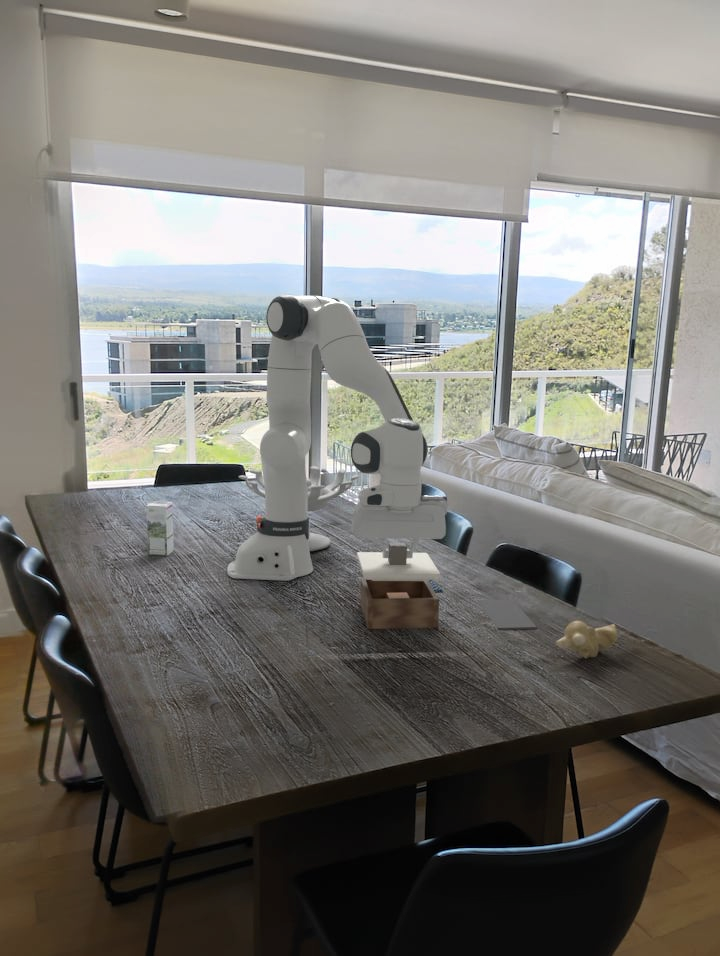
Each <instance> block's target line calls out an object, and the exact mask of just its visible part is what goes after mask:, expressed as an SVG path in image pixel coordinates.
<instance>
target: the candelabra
mask: <svg viewBox="0 0 720 956" xmlns="http://www.w3.org/2000/svg"><path fill="white" fill-rule="evenodd" d="M309 469H310V474H309V478H308V477H306V482H307V487H308V513H309V512H314V511H320V510H322V509H324V508H325V507H326V505H327V503H328V502H329V501H331V500H333V499H335V498H337V497H339V496H340V495H343V493H346V492H347V491H348V490H350V489H351V487H352V486H353V485H354V481H355V480H357V479H359V478H360V475H359V474H356V475H355V474H354V475H351V476H350V480H349V481H348V480H347V481H344V478H345V477H344V475H345V474H346V469H338V471H337V475H336V478H335V479H334V480H333V481H332V482H331V483H329V484H328V485H326V486H325V485H321V484H320V485H319V484H318V483H319V481H320V479H321V470H320V468H319V467H317V466H315V465H312V466H310V467H309ZM248 471H249V473H250V474H253V475H255V479H256V481H257V482H256V481H249V477H248V476H247V475H238V479H241V480H245V485H246V486H247V488H248V489H250V490H251V491H252V492H253V493H255V494H256V495H258V496H259V497H262V498H264V499H265V485H264V478H263V471H261V470H259V469H250V470H248ZM258 484H259V485H260V486H261V487H262V488H263V489H264V490H263V489H260V488H259V487H258ZM338 487H339V488H338ZM336 488H338V489H336ZM308 543H309V551H310V552H315V551H320V550H323V549H326V548H328V547H329V546H330V545H331V544H332V542H331V539H330V538H329V537H327V536H325V535H322V534H319V533H313V532H310V536H309V539H308Z"/></svg>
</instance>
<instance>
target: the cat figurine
mask: <svg viewBox="0 0 720 956" xmlns="http://www.w3.org/2000/svg"><path fill="white" fill-rule="evenodd" d="M563 633H564V634H563V635H564V636H563V637H562V638H561V637H560V638H559V639H558V640H556V642H555V644H556V646H557V647H559V648H561V649H571V650H572V651H573V652H575V653H577V654H579V655H581V656H582V657H583V658H584V659H588V658H596V657H597V656H598V654H599V652H600V651H605V650H608V649H610V647H611V646H612V645H613V644H615V643H617V641H618V637H619V635H618V630H617V626H616V624H615V623H614V624H612V623H611V624H609V625H605V626H602V627H596V628H594V627H592V626H588V625H587V624H586V622H584V621H582V620H574V621H571V622H570V623H568V625H567V626H566V627H565V629H564V632H563Z"/></svg>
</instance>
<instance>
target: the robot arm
mask: <svg viewBox="0 0 720 956" xmlns="http://www.w3.org/2000/svg"><path fill="white" fill-rule="evenodd" d="M265 318H266V325H267V327H268V330H269V332H270V333H271V339H270V343H269V349H268V357H267V372H266V373H267V375H266V402H267V409H268V421H269V425H268V430H267V431H265V433H264V434H263V435H262V437H261V440H260V444H259V453H260V459H261V469H262V476H263V478H264V485H265V489H264V491H265V498H264V513H265V514H264V516H262V515H258V516H257V517H256V519H255V523H256V525H257V526H256V527H257V531H256V532H255V533H254V534H252V535H251V536H250V537H249V538H247V539H245V541H243V542H242V543H240V545H239V547H238V548H237V551H236V555H235V560H233V561H231V562H229V564H228V565H227V569H226V573H227V576H229V577H230V578H232V579H238V580H239V579H242V580H244V579H245V580H262V581H263V580H264V581H265V580H267V581H284V582H285V581H287V582H288V581H291V580H294V579H296V578H298V577H304V576H307V575H309V574H311V573H312V572H313V571H314V566H313V562H312V558H311V557H312V556H311V553H310V552H311V551H309V543H308V539H309V536H310V533H311V532H310V531H311V530H310V529H311V528H310V526H311V525H310V524H311V523H310V522H311V521H310V518H309V516H308V514H309V512H308V487H307V482H306V478H307V475H306V461H305V460H306V456H307V455H308V453H309V451H310V449H311V447H312V445H311V444H312V416H311V415H312V414H311V411H312V409H311V390H312V389H311V387H312V385H311V384H312V366H313V365H312V363H313V362H312V353H313V349H314V347H316V345H317V346H318V351H319V355H320V358H321V362H322V364H323V367H324V370H325V372H326V374H327V375H328V377H329V378H330V379H331V380H332V381H333V382H335V383H336V384H337V385H339V386H341V387H344V388H345V387H346V388H348V389H351V390H354V391H356V392H359V393H361V394H363V395H366V396H367V397H368V398H370V399H371V400H373V402H374V403H376V405H377V406H378V409H379V411H380V413H381V416H382V417H383V419H384V423H383V424H382V425H380V426H378V427H376V428H372V429H369V430H365V431H361V432H359V433H358V434H356V435H355V436H354V439H353V440H352V443H351V446H350V457H351V462H352V464H353V466H354V468H355V469H356V470H358V471H359V473H361V474H362V473H363V474H367V475H377V474H379V475H380V480H379V482H380V483H379V484H378V485H374V486H372V487H368V488H367V487H366V488H365V489H360V491H359V493H358V500H359V502H357V504H356V505H355V507H354V510H353V513H352V521H351V534H352V535H353V536H354V537H355V538H356V539H377V541H378V544H379V546H380V548H381V550H382V551H381V552H382V557H383V558H390V555H389V554H390V550H389V548H386V547H385V544H386V539H399V540H400V539H405V540H406V539H407V540H408V539H410V542H411V544H409V547H408V548H407V558H412V557H413V553H414V551H415V549H416V548H417V547H418V545H419V540H420V539H421V540H442V539H443V538H444V537H445V536H446V535H447V534H446V532H447V526H446V515H447V513H448V506H449V505H448V501H447V500H446V499H445V498H443V497H442V496H441V495H422V476H421V470H422V466H423V465H424V464H425V462H426V459H427V457H428V453H429V452H428V451H429V448H428V442H427V440H426V437H425V436H424V433H423V432H422V431H423V430H422V427H421V425H420V424H419V423H418V422H416V421H414V420H413V419H414V418H413V417H412V415H411V413H410V411H409V409H408V407H407V405H406V403H405V401H404V399H403V397H402V395H401V393H400V390H399V389H398V387H397V385H396V382H395V381H394V379H393V377H392V376H391V373H390V372H389V371H388V370H387V369H386V368H385V367H384V366H383V365H382V364H381V363H380V362H379V361H378V360H377V358H376V357H375V355H374V353H373V352H372V350H371V348H370V346H369V344H368V341H367V339H366V335H365V332H364V330H363V328H362V325H361V323H360V320H359V319H358V317H357V316H356V314H355V312H354V310H353V309H352V307H351V306H350V305H349V304H348V303H347V302H345V301H344V300H341V299H338V298H335V297H331V298H330V297H326V296H325V297H324V296H320V295H312V294H311V295H310V294H309V295H292V294H284V295H279V296H276V297H275V298H274V297H273V299H272V300H271V301H270V303H269V305H268V308H267V311H266V316H265Z"/></svg>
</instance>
